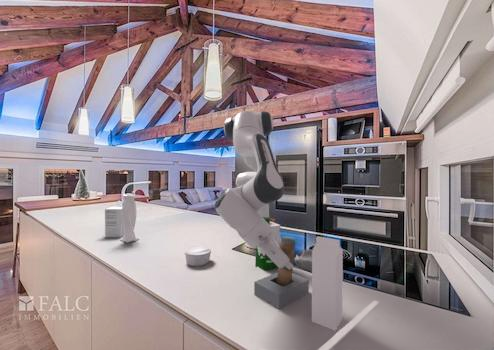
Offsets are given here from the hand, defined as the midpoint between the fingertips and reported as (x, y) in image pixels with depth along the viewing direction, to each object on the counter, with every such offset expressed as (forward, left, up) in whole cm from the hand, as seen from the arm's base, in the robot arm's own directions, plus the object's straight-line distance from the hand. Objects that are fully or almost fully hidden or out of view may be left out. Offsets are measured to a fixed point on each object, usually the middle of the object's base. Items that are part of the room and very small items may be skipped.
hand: (288, 263), depth 73 cm
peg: (+1, -1, -9) cm, 9 cm away
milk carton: (-10, -19, -11) cm, 24 cm away
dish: (-26, -8, -11) cm, 30 cm away
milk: (+3, +15, -11) cm, 18 cm away
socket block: (+2, -1, -10) cm, 11 cm away
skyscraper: (+22, -95, -11) cm, 98 cm away
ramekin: (+8, -43, -11) cm, 45 cm away
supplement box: (+25, -113, -11) cm, 116 cm away
